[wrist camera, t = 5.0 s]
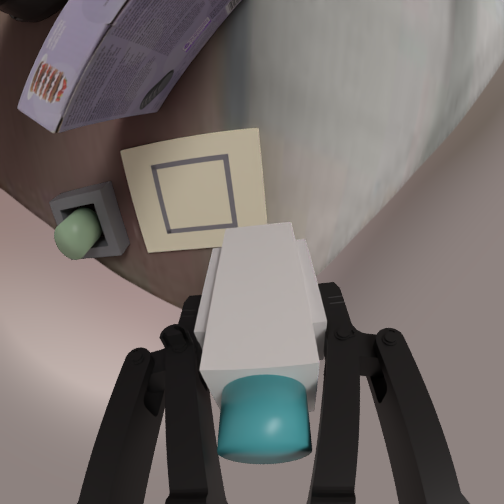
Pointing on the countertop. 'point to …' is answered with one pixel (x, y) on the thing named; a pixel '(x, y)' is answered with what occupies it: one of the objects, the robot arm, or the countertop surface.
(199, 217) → the cream square mat
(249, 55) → the countertop surface
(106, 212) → the button box
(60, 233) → the button
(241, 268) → the teal capped white bottle
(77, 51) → the cake pan box
